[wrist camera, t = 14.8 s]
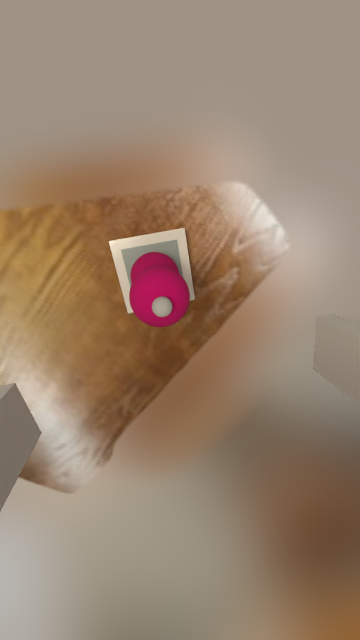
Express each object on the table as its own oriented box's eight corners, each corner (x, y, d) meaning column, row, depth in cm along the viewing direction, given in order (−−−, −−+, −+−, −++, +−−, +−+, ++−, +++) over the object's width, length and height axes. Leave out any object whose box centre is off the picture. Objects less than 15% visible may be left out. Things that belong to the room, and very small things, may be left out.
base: (129, 308, 42) (127, 313, 39) (111, 240, 38) (108, 241, 34) (191, 295, 43) (195, 300, 40) (181, 228, 38) (184, 227, 35)
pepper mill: (132, 248, 35) (117, 262, 17) (177, 251, 36) (210, 268, 18) (131, 293, 38) (118, 348, 19) (174, 295, 39) (200, 349, 20)
